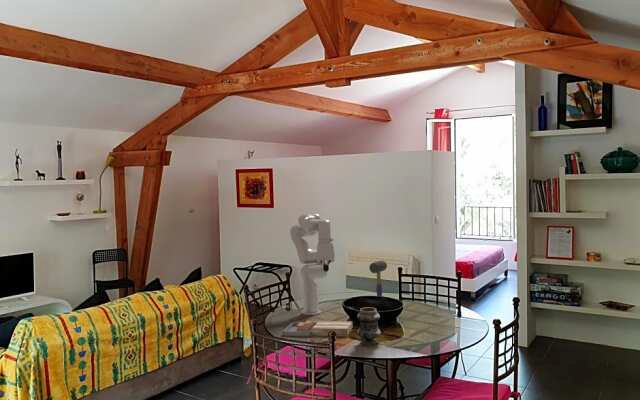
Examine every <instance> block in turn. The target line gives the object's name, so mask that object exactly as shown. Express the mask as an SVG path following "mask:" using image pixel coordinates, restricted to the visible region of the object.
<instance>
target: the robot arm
mask: <svg viewBox="0 0 640 400" xmlns="http://www.w3.org/2000/svg"><path fill="white" fill-rule="evenodd" d="M297 222H298V224H295V225H293V226H291V228H290V232H289V234H290V239H291V240H292V242H293V244H294V246H295V249H296V252H297V256H298V260H299V263H300V264H301V265H303V266H301V268H300V277H301V282H302V293H303V295H302V297H303V309H302V311H301V314H302V315H303V316H314V315H315V316H316V315H319V314H321V313H322V310H321V309H319V294H318V283H316V282H315V280H316V279H323V278H326V276H327V275H328V272H329V270H330V267H329V266H330V264H331V263H333V262H335V258H336V257H335V249H334V248H335V247H334V244H333V242H334V238H332V236H331V234H332V233H331V232H332V231H331V221H330V220H328V219H326V218H321V217H320V214H318V213H306V214H301V215H300V216H298V219H297ZM315 235H318V237H317V239H318V242H317V246H316V248H315V249H311V248H310V245H309V242H307V240H306V239H304V237H305V238H306V237H313V236H315Z"/></svg>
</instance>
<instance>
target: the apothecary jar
mask: <svg viewBox="0 0 640 400" xmlns="http://www.w3.org/2000/svg"><path fill="white" fill-rule="evenodd" d="M380 317H381V315H380V314H379V312H378V311H377V308H375V307H369V306H368V307H367V306H366V307H362V308H360V309H359V312H358V314H357V316H356V318H357V320H358V321H359V328H358V329H357V336H358V337H359V338H361V339H363V340H360V342H359V344H360V346H364V347H375V346H378V345H379V344H380V341H378V340H376V339H377V338H378V337H380V335H381V333H382V332H381V330H380V328H379V323H378V322H379V320H380Z"/></svg>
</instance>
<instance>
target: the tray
mask: <svg viewBox="0 0 640 400" xmlns="http://www.w3.org/2000/svg"><path fill="white" fill-rule="evenodd" d="M304 322H305V321H293V322H291V323H290V324H289V325H288V326H287V327H286V328H284V330H283V331H282V337H307V338H308V337H309V338H310V337H311V336H313V335H312V329H311V330H310V331H309V332H304V331H297V325H298V324H299V323H304ZM317 322H318V321H317ZM317 322H314V321H313V327H314V326H315V325H316V324H317Z"/></svg>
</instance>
